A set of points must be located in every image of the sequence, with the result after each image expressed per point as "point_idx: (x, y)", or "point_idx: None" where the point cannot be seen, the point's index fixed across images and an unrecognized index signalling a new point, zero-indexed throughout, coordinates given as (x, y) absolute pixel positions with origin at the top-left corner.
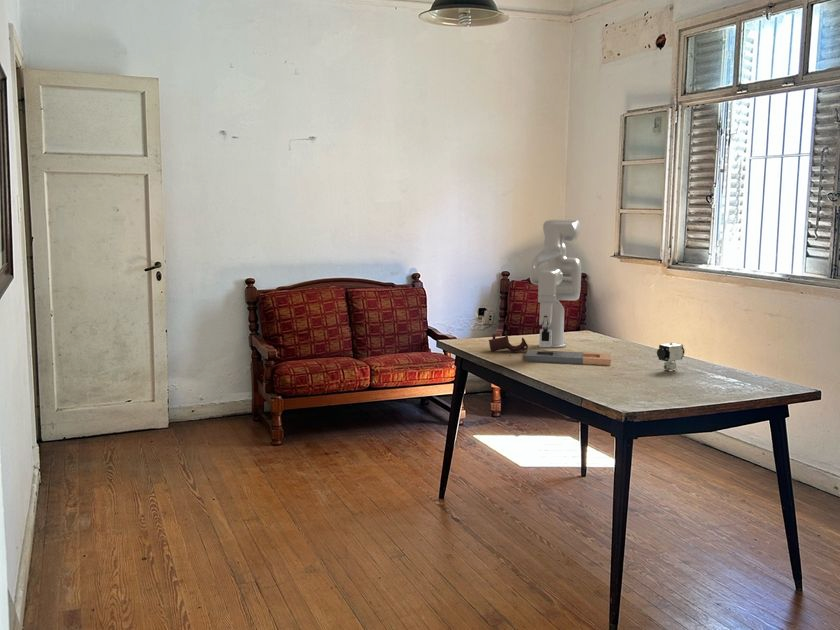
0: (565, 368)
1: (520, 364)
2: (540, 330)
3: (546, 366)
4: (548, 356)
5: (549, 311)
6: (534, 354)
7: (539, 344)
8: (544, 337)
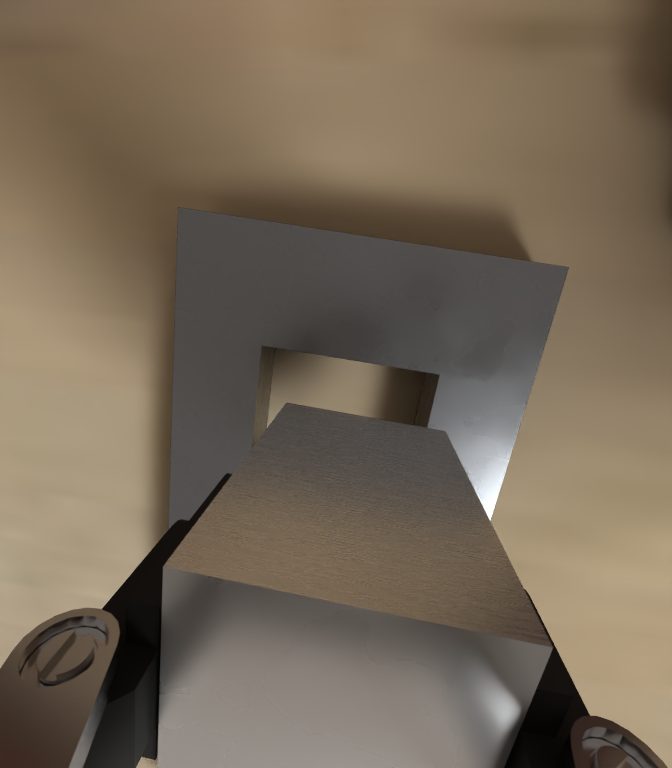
0: (6, 523)
1: (44, 156)
2: (292, 606)
3: (31, 397)
4: (181, 455)
5: None
6: (263, 323)
7: (278, 415)
8: (162, 553)
